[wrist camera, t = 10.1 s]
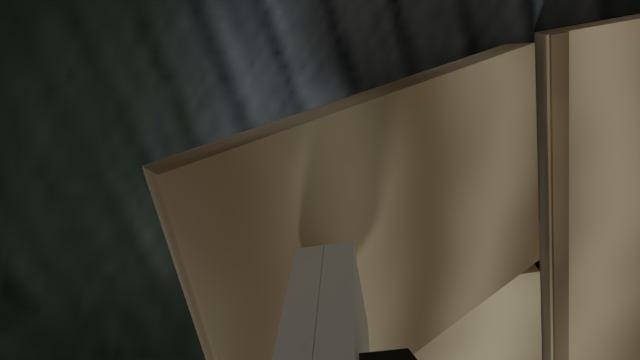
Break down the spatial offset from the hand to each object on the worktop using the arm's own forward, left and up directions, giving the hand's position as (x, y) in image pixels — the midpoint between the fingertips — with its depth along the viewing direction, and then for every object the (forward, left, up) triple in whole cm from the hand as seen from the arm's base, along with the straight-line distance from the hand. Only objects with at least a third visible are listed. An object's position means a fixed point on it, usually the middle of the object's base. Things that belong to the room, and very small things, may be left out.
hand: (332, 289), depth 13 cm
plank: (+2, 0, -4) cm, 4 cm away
